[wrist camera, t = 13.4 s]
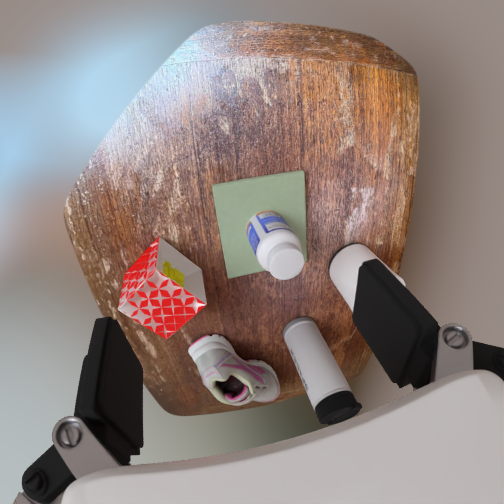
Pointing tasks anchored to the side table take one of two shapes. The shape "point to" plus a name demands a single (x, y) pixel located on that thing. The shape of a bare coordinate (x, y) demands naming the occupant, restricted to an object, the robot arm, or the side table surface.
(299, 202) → the mat
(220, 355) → the running shoe
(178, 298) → the red patterned cube box
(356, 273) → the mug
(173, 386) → the side table surface
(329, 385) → the travel mug
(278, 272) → the pill bottle
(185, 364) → the side table surface
